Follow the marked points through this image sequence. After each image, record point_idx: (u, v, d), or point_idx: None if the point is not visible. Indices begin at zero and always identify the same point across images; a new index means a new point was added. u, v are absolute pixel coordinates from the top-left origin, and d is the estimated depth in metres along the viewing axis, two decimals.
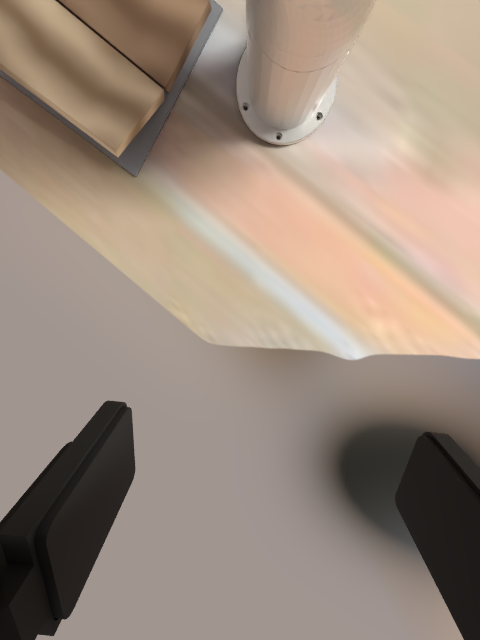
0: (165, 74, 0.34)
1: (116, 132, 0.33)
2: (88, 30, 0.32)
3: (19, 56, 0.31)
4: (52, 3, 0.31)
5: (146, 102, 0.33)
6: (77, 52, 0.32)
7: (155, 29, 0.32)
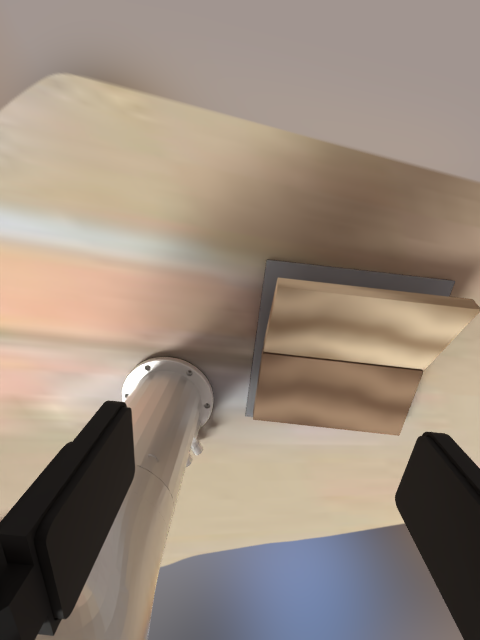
0: (267, 362, 0.34)
1: (285, 302, 0.28)
2: (346, 359, 0.33)
3: (405, 317, 0.28)
4: (383, 362, 0.33)
5: (272, 337, 0.32)
6: (350, 342, 0.31)
7: (288, 385, 0.35)
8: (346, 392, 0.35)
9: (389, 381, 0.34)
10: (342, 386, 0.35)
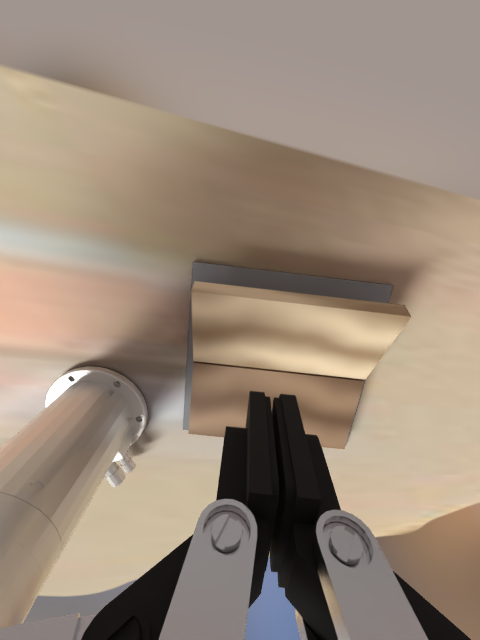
0: (198, 372, 0.32)
1: (203, 308, 0.25)
2: (282, 369, 0.31)
3: (333, 324, 0.26)
4: (321, 372, 0.31)
5: (198, 345, 0.29)
6: (282, 351, 0.29)
7: (222, 397, 0.33)
8: None
9: (329, 392, 0.32)
10: None
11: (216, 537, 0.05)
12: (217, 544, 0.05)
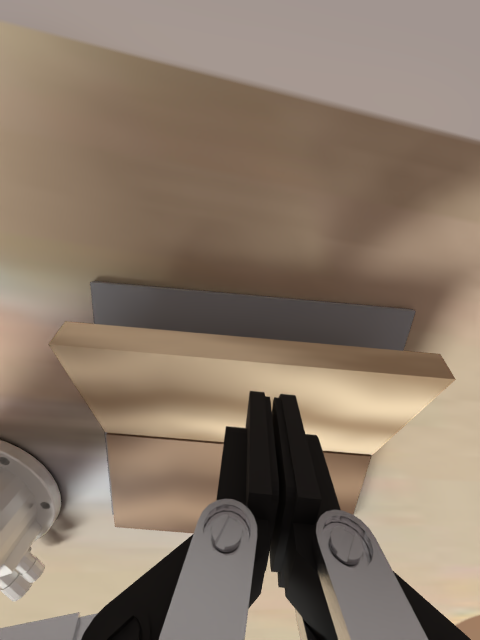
0: (116, 447, 0.21)
1: (83, 368, 0.15)
2: None
3: (314, 389, 0.15)
4: None
5: (102, 415, 0.18)
6: (236, 423, 0.18)
7: (157, 480, 0.22)
8: None
9: None
10: None
11: (216, 537, 0.05)
12: (217, 544, 0.05)
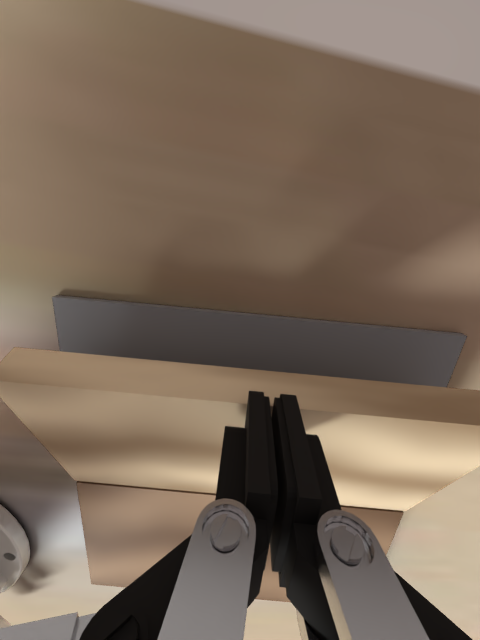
0: (89, 497, 0.17)
1: (35, 409, 0.11)
2: None
3: (341, 439, 0.11)
4: None
5: (69, 463, 0.15)
6: None
7: (140, 534, 0.18)
8: None
9: None
10: None
11: (215, 537, 0.05)
12: (216, 544, 0.05)
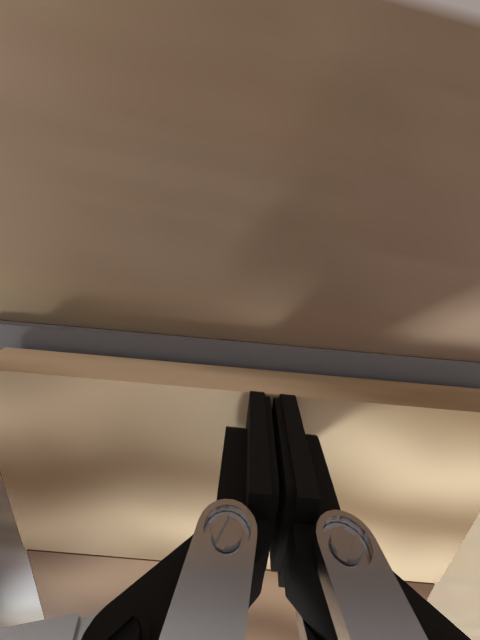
0: (43, 567, 0.14)
1: (9, 412, 0.10)
2: None
3: (340, 444, 0.10)
4: None
5: (25, 511, 0.12)
6: None
7: None
8: (250, 618, 0.15)
9: None
10: None
11: (216, 537, 0.05)
12: (217, 544, 0.05)
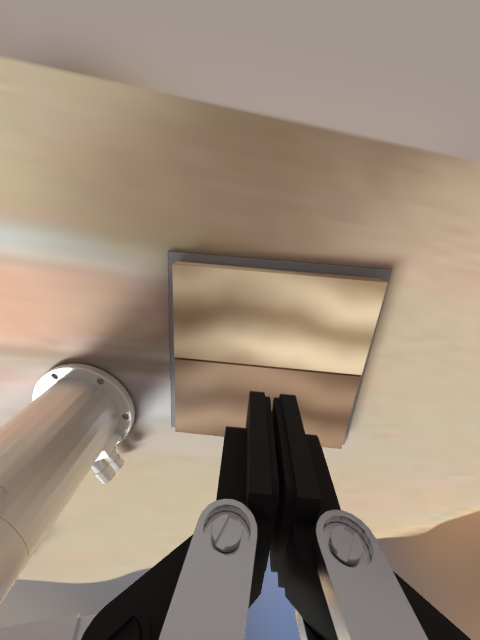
0: (180, 369, 0.30)
1: (183, 283, 0.26)
2: (269, 364, 0.29)
3: (313, 297, 0.26)
4: (311, 366, 0.29)
5: (179, 334, 0.28)
6: (266, 337, 0.28)
7: (208, 394, 0.31)
8: None
9: (322, 388, 0.30)
10: (269, 394, 0.30)
11: (216, 537, 0.05)
12: (217, 544, 0.05)
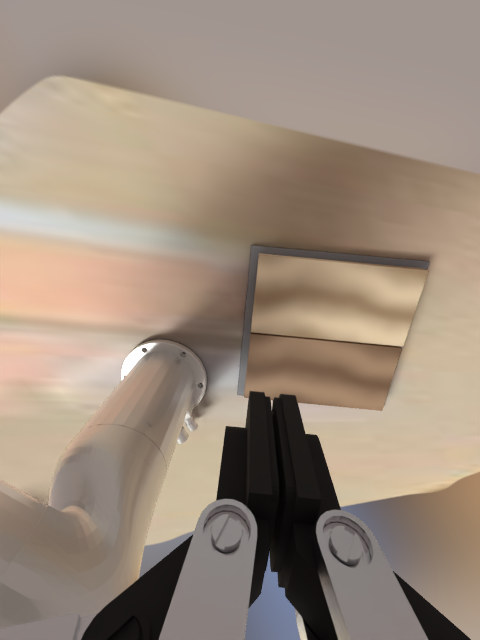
0: (254, 342, 0.36)
1: (266, 271, 0.33)
2: (328, 337, 0.36)
3: (369, 282, 0.33)
4: (363, 339, 0.36)
5: (257, 313, 0.35)
6: (328, 315, 0.35)
7: (275, 364, 0.37)
8: (330, 369, 0.37)
9: (370, 358, 0.37)
10: (326, 364, 0.37)
11: (216, 537, 0.05)
12: (217, 544, 0.05)
